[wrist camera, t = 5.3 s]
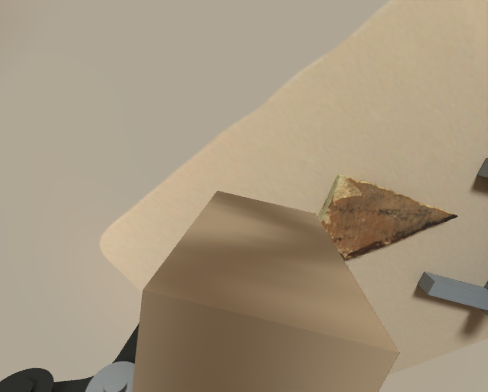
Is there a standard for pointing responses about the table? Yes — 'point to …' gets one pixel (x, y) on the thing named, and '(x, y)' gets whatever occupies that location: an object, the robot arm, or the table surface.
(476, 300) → the dock
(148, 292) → the block
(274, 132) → the table surface
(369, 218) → the shard
